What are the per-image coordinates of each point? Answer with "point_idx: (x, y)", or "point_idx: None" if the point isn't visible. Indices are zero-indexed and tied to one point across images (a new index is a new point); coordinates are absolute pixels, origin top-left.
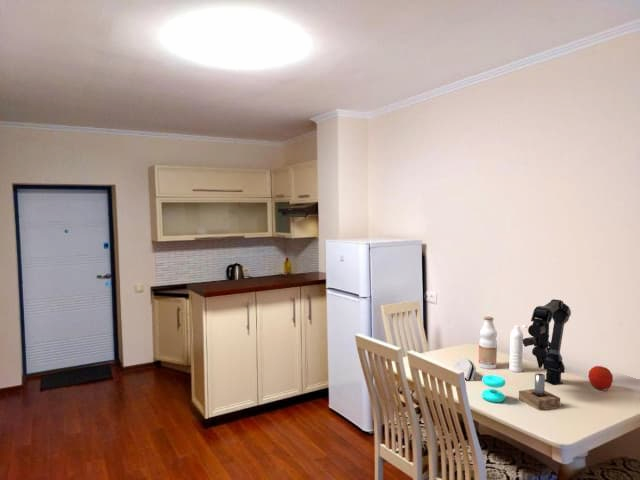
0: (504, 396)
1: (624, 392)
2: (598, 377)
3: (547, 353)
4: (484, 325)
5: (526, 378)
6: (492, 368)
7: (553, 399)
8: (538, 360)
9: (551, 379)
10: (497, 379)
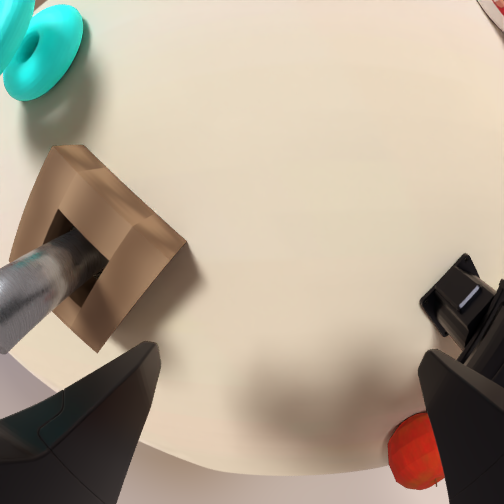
0: (29, 95)
1: (387, 457)
2: (399, 464)
3: (449, 494)
4: None
5: (468, 160)
6: (488, 14)
7: (66, 322)
8: (59, 414)
9: (443, 301)
10: None
